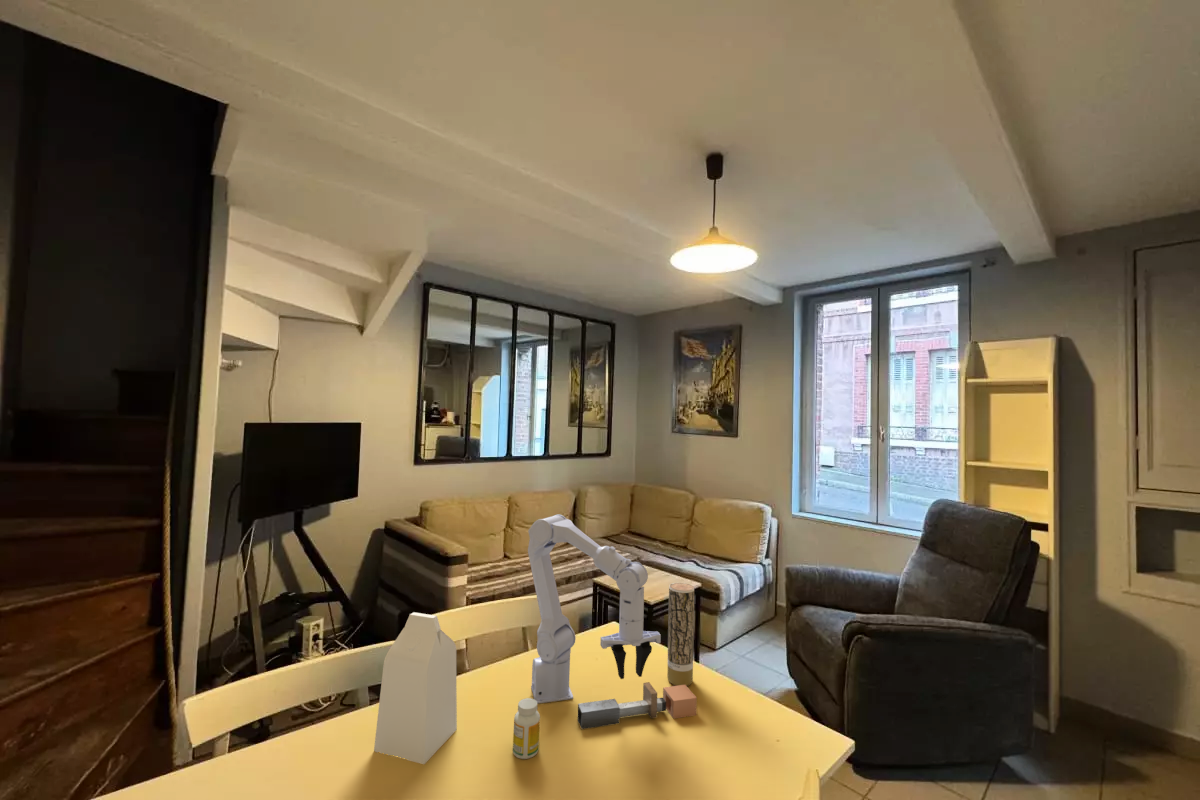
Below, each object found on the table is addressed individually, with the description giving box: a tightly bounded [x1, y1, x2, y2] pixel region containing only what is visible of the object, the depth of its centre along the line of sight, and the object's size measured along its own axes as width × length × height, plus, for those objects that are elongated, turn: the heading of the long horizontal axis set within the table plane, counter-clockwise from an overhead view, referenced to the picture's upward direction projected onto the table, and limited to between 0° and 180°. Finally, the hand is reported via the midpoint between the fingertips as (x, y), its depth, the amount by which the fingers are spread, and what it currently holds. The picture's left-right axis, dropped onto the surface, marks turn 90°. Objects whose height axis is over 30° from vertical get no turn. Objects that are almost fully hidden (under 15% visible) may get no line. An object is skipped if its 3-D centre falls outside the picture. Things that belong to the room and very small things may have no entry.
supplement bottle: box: [512, 697, 541, 760], centre depth 99 cm, size 5×5×10 cm
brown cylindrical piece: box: [666, 582, 695, 687], centre depth 129 cm, size 7×7×25 cm
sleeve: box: [577, 698, 621, 730], centre depth 110 cm, size 9×4×4 cm, turn 106°
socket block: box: [662, 685, 698, 720], centre depth 115 cm, size 6×6×4 cm
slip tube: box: [618, 681, 667, 719], centre depth 112 cm, size 19×5×6 cm, turn 106°
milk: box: [373, 611, 458, 765], centre depth 102 cm, size 12×12×26 cm
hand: (629, 675), depth 112 cm, fingers open, 4 cm apart
